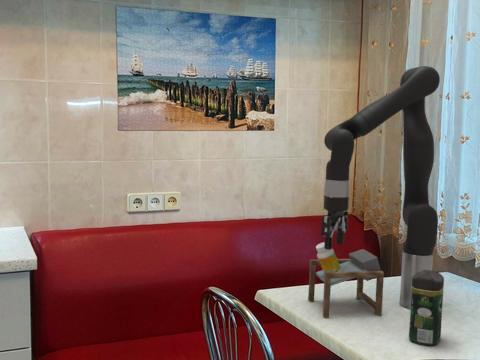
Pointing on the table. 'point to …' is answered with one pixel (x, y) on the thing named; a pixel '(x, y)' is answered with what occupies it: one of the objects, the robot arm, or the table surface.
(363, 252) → the grey angled panel
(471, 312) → the table surface
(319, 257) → the supplement bottle
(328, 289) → the frame
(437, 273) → the coffee jar
